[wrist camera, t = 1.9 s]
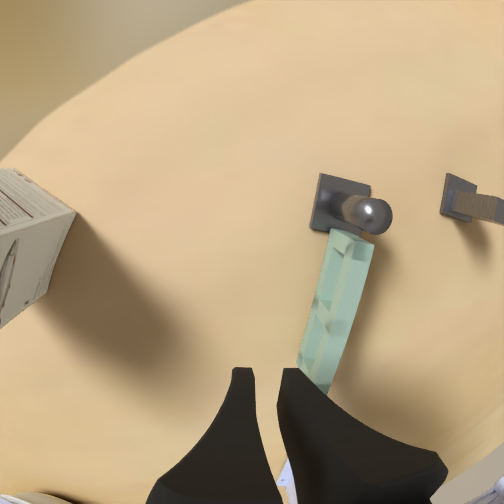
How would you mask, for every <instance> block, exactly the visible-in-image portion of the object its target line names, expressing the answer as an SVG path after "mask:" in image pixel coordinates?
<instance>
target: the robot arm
mask: <svg viewBox="0 0 504 504" xmlns="http://www.w3.org/2000/svg"><path fill="white" fill-rule="evenodd" d="M277 413H278V421H279V428H280V431H281V435H282V439H283V442H284V446H285V449H286V452H287V456H288V459H287V461H286V463H285V465H284V467H283V469H282V472H281V474H280V476H279V478H278V480H277V482H276V483H277V486H286V491H287V496H288V501H289V504H432V503H431V501H430V497H431V496H432V495H433V494H434V493H435V492H436V491H437V489H438V488H439V487H440V486H441V485H442V484H443V482H444V481H445V479H446V477H447V474H448V469H447V467H446V466H445V464H444V463H443V461H442V460H441V459H440V457H439V456H438V454H437V453H436V452H433V451H429V450H425V449H421V448H418V447H414V446H411V445H408V444H405V443H402V442H399V441H397V440H394V439H392V438H390V437H387V436H385V435H383V434H381V433H379V432H377V431H375V430H373V429H371V428H370V427H368V426H366V425H364V424H363V423H361V422H360V421H358V420H357V419H355V418H354V417H352V416H351V415H349V414H348V413H347V412H345V411H344V410H343V409H342V408H340V407H339V406H338V405H337V404H335V403H334V402H333V401H332V400H331V399H330V398H329V397H327V396H326V395H325V394H324V393H323V392H322V391H321V390H320V389H319V388H318V387H317V386H316V385H315V384H314V383H313V382H312V381H311V380H310V379H309V378H308V377H307V376H306V375H305V374H304V373H303V372H302V371H301V370H300V369H299V368H284V369H283V375H282V380H281V386H280V391H279V396H278V401H277ZM276 483H275V481H274V478H273V475H272V473H271V470H270V467H269V464H268V461H267V458H266V455H265V451H264V448H263V444H262V440H261V436H260V432H259V427H258V423H257V417H256V401H255V377H254V374H253V371H252V368H243V367H235V368H234V369H232V380H231V383H230V387H229V390H228V392H227V395H226V397H225V400H224V402H223V404H222V406H221V408H220V410H219V412H218V414H217V415H216V417H215V419H214V420H213V422H212V424H211V425H210V427H209V428H208V430H207V431H206V432H205V434H204V435H203V436H202V438H201V439H200V440H199V441H198V443H197V444H196V445H195V446H194V447H193V448H192V450H191V451H190V452H189V453H188V454H187V455H186V456H185V457H184V458H183V459H182V460H181V461H180V462H179V463H177V464H176V465H175V466H174V467H173V468H171V469H170V470H169V471H168V472H166V473H165V474H164V475H163V476H161V477H160V478H159V479H158V480H157V482H156V483H155V485H154V487H153V488H152V490H151V492H150V494H149V496H148V499H147V501H146V504H283V501H282V497H281V495H280V493H279V490H278V488H277V486H276ZM0 504H14V503H12V502H10V501H8V500H6V499H5V498H3V497H1V496H0ZM465 504H504V475H503V476H502V477H501V478H500V479H499V480H498V481H497V482H496V483H495V485H494V486H493V487H492V488H491V489H489V490H488V491H486V492H484V493H483V494H481V495H479V496H478V497H476V498H474V499H472V500H471V501H469V502H467V503H465Z"/></svg>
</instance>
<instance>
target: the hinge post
mask: <svg viewBox="0 0 504 504" xmlns="http://www.w3.org/2000/svg"><path fill="white" fill-rule="evenodd" d="M370 187H371V186H370V185H366V184H362V183H358V182H355V181H351V180H347V179H343V178H339V177H335V176H331V175H327V174H322V173H320V175H319V180H318V185H317V191H316V196H315V201H314V206H313V211H312V216H311V221H310V226H309V227H310V228H312V229H318V230H323V231H328V232H330V230H331V228H333V229H339V230H344V231H348V232H350V233H352V234H354V235H356V236H358V237H360V235H361V230H364V231H366V232H369V233H371V234H374V235H379V234H382V233H384V232H385V231H386V230H387V229H388V228H389V227H390V225H391V222H392V210H391V207H390V206H389V204H388V203H387V202H385V201H384V200H381V199H376V198H370V197H369V192H370Z"/></svg>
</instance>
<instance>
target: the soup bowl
mask: <svg viewBox="0 0 504 504" xmlns="http://www.w3.org/2000/svg"><path fill="white" fill-rule="evenodd" d="M0 496H1V497H3V498H5V499H6V500H8V501H10V502H12V503H14V504H72V503H70V502H67V501H65V500H62V499H60V498H57V497H54V496H51V495H48V494H44V493H38V492H22V493H17V494H14V495H12V496H11V495H6V494H1V495H0Z"/></svg>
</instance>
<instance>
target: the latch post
mask: <svg viewBox="0 0 504 504" xmlns="http://www.w3.org/2000/svg"><path fill="white" fill-rule="evenodd" d="M476 191H477V185H474V184H472V183H470V182H468V181H466V180H464V179H461V178H459V177H457V176H455V175H452V174H450V173H446V179H445V186H444V192H443V197H442V203H441V208H440V213H443V214H446V215H449V216H452V217H455V218H458V219H461V220H464V221H467V222H470V223H471V219H472V218H476V219H479V220H483V221H487V222H491V223H495V224H498V225H502V226H504V200H502V199H501V198H499V197H495V196H489V195H482V194H476Z"/></svg>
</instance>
